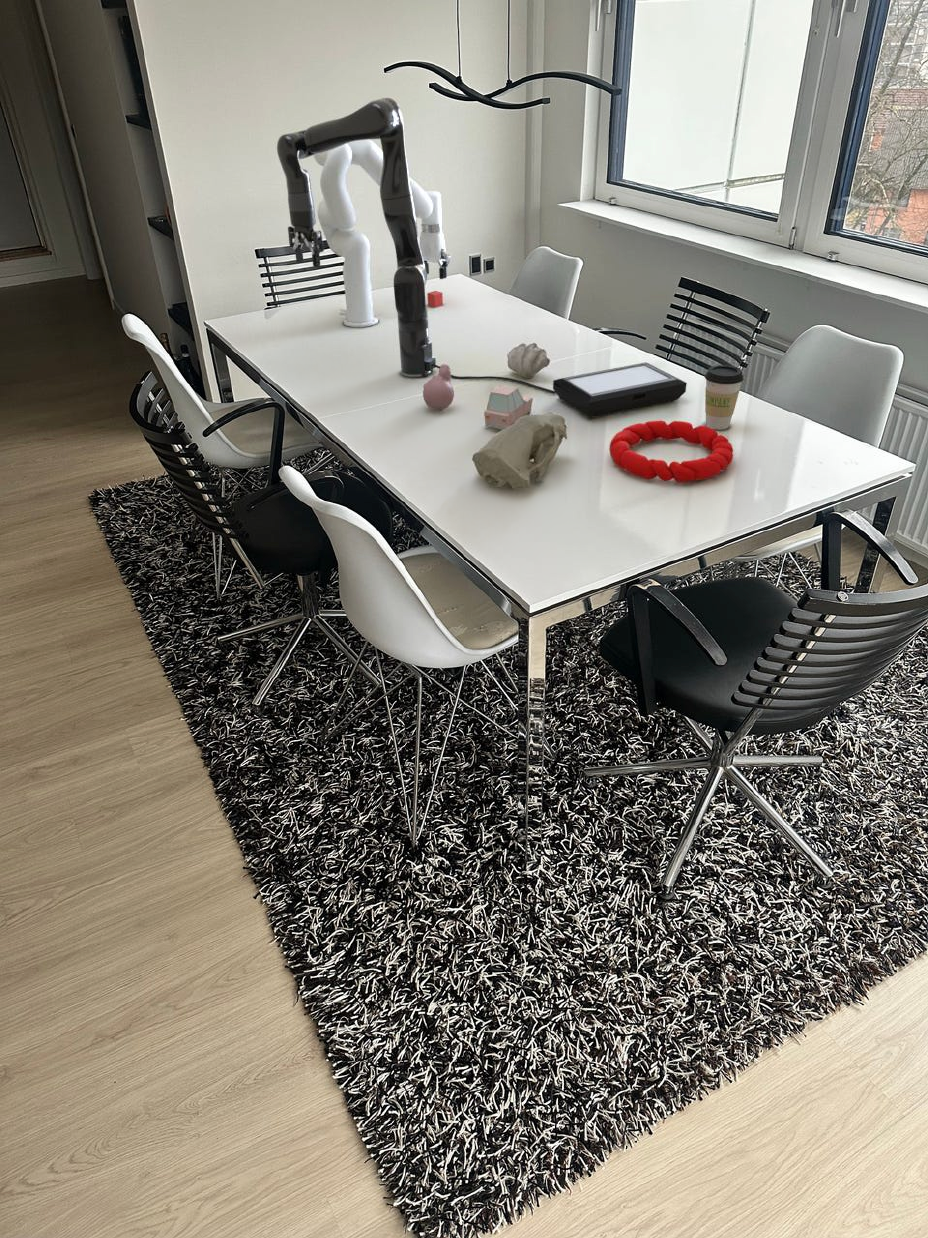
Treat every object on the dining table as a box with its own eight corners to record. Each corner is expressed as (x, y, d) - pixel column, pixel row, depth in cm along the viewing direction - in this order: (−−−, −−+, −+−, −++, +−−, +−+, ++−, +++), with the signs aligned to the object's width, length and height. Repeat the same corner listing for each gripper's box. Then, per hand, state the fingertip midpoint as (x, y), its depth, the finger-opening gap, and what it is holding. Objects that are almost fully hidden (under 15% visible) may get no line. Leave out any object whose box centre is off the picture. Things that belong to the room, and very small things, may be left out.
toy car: (536, 415, 249) (537, 380, 243) (510, 434, 238) (510, 398, 232) (507, 409, 253) (507, 375, 247) (480, 428, 242) (479, 393, 236)
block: (435, 303, 347) (435, 290, 344) (443, 304, 344) (442, 292, 342) (427, 305, 345) (427, 292, 342) (434, 307, 342) (434, 294, 339)
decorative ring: (590, 427, 228) (644, 464, 203) (694, 411, 235) (759, 444, 210) (589, 454, 232) (643, 493, 207) (692, 437, 239) (756, 473, 214)
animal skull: (489, 499, 227) (452, 459, 211) (541, 418, 229) (509, 372, 213) (540, 522, 217) (505, 481, 201) (594, 437, 219) (564, 390, 203)
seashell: (522, 385, 268) (523, 352, 263) (503, 370, 280) (503, 338, 274) (553, 380, 271) (554, 348, 266) (533, 365, 283) (533, 334, 277)
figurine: (441, 398, 262) (440, 358, 255) (460, 410, 254) (458, 368, 247) (414, 404, 258) (412, 363, 251) (432, 416, 250) (430, 374, 243)
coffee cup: (691, 421, 242) (698, 367, 233) (722, 415, 245) (730, 362, 236) (712, 434, 234) (719, 379, 226) (743, 428, 237) (752, 373, 228)
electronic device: (589, 399, 240) (553, 377, 255) (587, 421, 244) (552, 398, 259) (687, 380, 251) (647, 359, 266) (684, 401, 254) (645, 380, 269)
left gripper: (408, 226, 332) (411, 274, 341) (440, 232, 321) (442, 281, 331) (423, 223, 336) (425, 271, 346) (455, 229, 326) (457, 277, 335)
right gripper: (277, 207, 270) (285, 263, 279) (305, 212, 261) (312, 270, 271) (297, 203, 274) (304, 258, 283) (326, 208, 266) (332, 265, 275)
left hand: (434, 276), depth 338 cm, fingers open, 9 cm apart
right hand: (308, 264), depth 277 cm, fingers open, 8 cm apart
